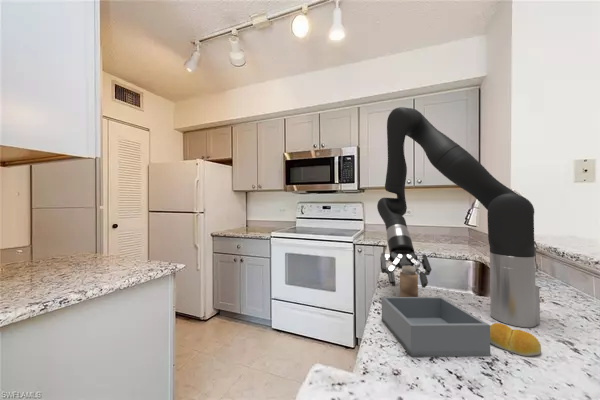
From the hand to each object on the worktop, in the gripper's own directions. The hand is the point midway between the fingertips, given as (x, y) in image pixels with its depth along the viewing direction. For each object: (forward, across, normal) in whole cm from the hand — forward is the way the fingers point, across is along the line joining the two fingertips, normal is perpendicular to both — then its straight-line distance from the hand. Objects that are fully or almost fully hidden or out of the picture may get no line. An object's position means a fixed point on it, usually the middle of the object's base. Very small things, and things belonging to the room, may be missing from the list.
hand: (409, 285), depth 74 cm
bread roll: (+17, +16, -7) cm, 25 cm away
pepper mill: (+4, 0, +5) cm, 7 cm away
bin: (+16, 0, -7) cm, 17 cm away
